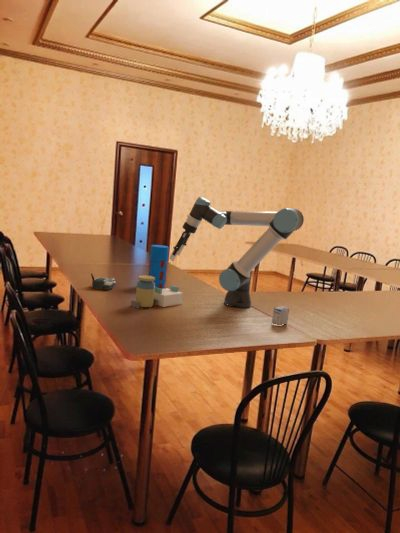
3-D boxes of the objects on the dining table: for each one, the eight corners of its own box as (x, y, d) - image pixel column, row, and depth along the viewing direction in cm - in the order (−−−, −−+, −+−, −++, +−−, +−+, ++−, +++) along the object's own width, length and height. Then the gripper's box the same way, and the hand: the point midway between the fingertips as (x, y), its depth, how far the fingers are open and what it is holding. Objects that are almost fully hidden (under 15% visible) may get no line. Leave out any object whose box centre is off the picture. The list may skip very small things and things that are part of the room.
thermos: (145, 284, 285) (148, 244, 281) (161, 284, 289) (165, 245, 285) (151, 288, 275) (154, 247, 271) (167, 288, 279) (171, 247, 275)
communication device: (121, 284, 281) (122, 270, 279) (109, 291, 257) (111, 276, 256) (102, 281, 282) (103, 267, 280) (89, 289, 258) (90, 273, 257)
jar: (136, 308, 228) (138, 278, 225) (134, 303, 236) (136, 274, 234) (154, 308, 230) (157, 279, 228) (151, 303, 239) (154, 275, 237)
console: (182, 303, 245) (183, 288, 244) (142, 310, 224) (143, 293, 223) (166, 298, 253) (168, 283, 252) (126, 304, 232) (127, 288, 231)
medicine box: (279, 322, 228) (281, 305, 227) (287, 324, 226) (289, 307, 224) (271, 325, 222) (273, 307, 221) (279, 327, 220) (281, 310, 218)
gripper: (190, 217, 261) (173, 249, 267) (180, 224, 237) (162, 258, 243) (201, 224, 260) (185, 255, 267) (193, 231, 236) (174, 265, 243)
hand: (174, 257), depth 255 cm, fingers open, 13 cm apart
